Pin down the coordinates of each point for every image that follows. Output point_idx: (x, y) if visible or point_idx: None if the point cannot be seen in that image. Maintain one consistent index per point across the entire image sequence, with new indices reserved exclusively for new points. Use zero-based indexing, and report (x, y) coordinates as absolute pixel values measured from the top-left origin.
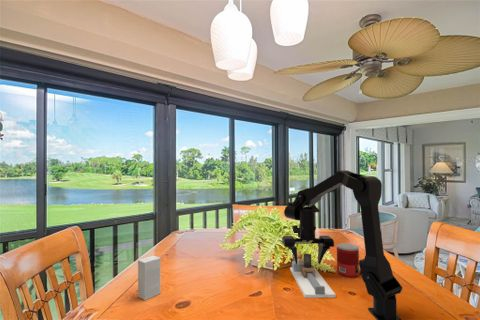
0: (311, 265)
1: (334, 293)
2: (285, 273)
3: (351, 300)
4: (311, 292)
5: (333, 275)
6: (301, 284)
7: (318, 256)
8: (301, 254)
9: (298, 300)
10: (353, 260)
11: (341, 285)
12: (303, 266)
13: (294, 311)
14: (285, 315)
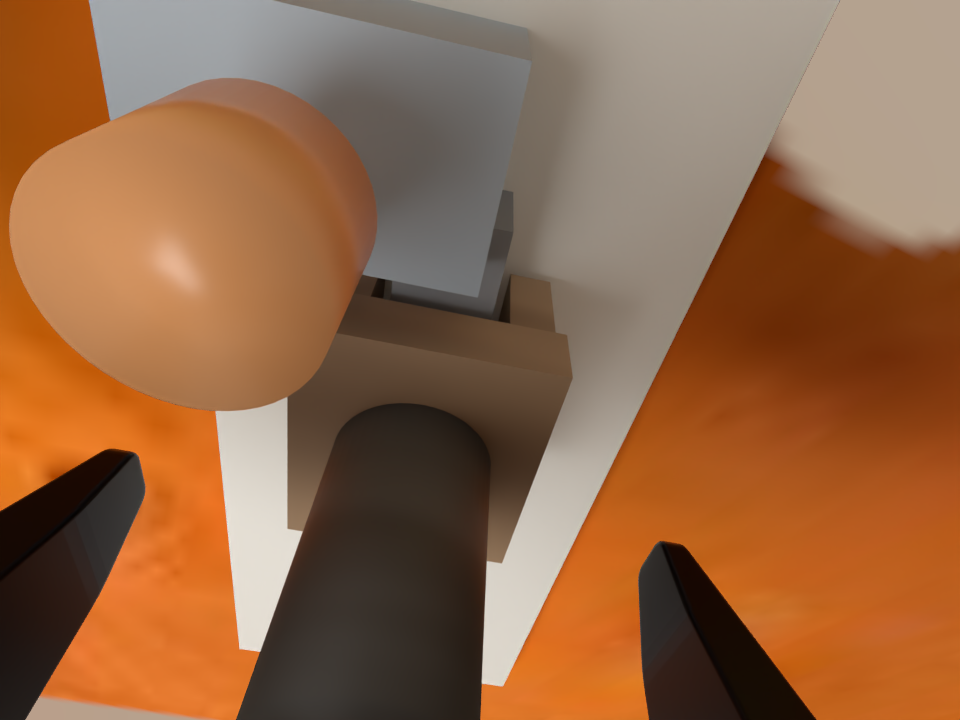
0: (529, 436)
1: (503, 678)
2: (65, 53)
3: (595, 693)
4: None
5: (914, 338)
6: (252, 532)
7: (707, 718)
8: (280, 392)
9: (188, 632)
10: None
11: (730, 553)
12: (326, 445)
13: (142, 692)
14: (82, 702)
